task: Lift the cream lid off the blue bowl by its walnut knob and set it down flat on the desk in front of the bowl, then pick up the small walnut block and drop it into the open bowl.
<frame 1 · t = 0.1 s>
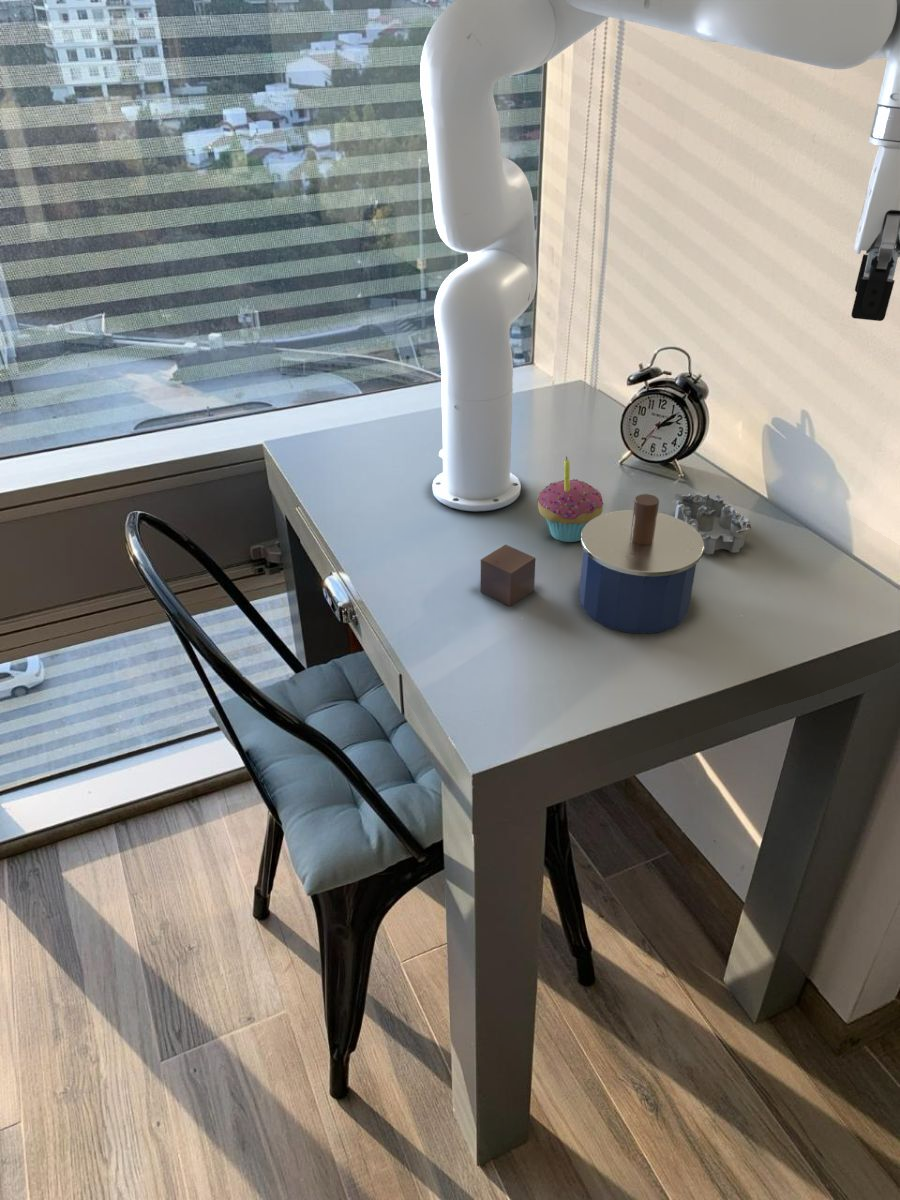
hand: (868, 305, 96), 31 cm above the table, tool pointing down, fingers open, 9 cm apart
cupcake: (567, 534, 118), on the table
block: (507, 590, 107), on the table
lid: (641, 543, 101), point 8 cm above the table, touching blue bowl
blue bowl: (633, 601, 105), on the table
egg carton: (706, 535, 118), on the table
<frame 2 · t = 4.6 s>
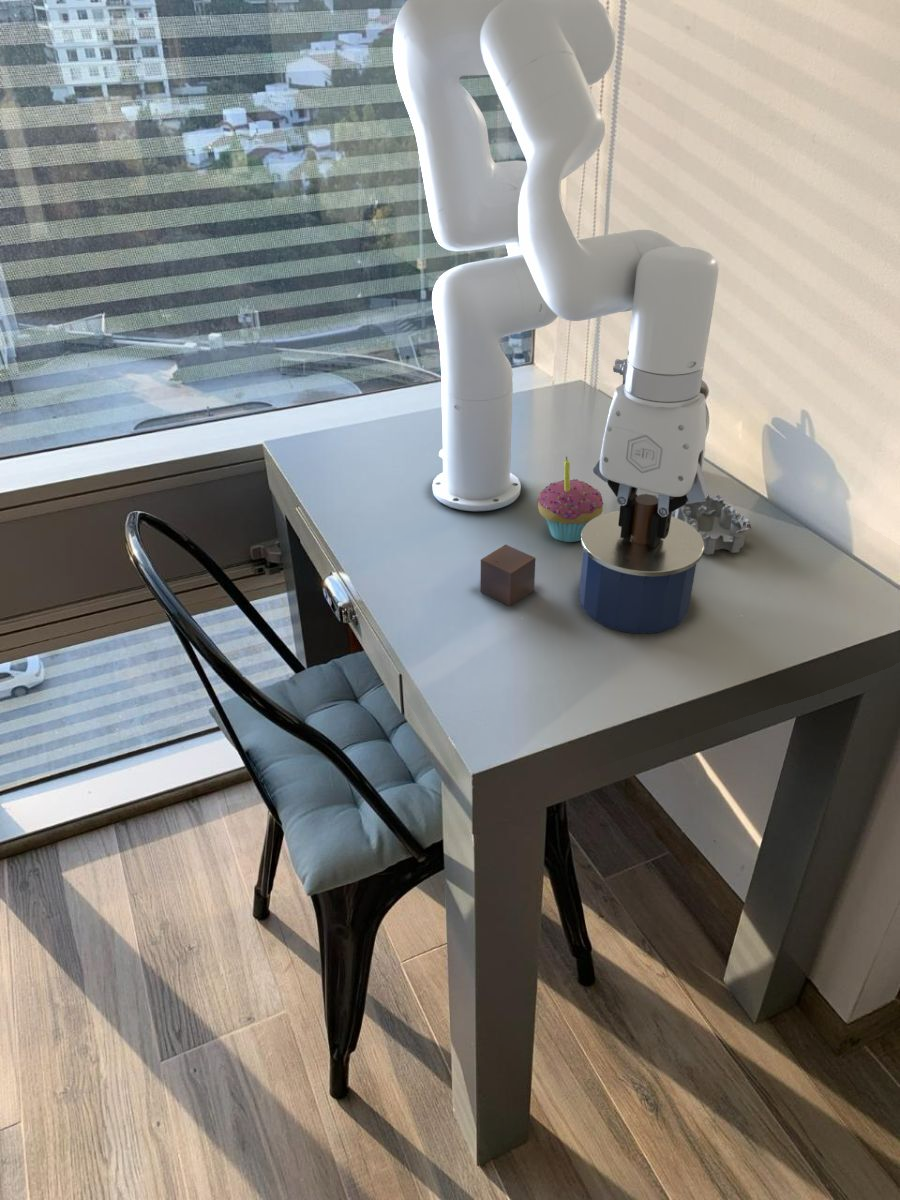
hand: (642, 536, 100), 9 cm above the table, tool pointing down, fingers closed on lid, 2 cm apart
lid: (641, 543, 101), point 8 cm above the table, touching gripper, blue bowl
everything else where it was.
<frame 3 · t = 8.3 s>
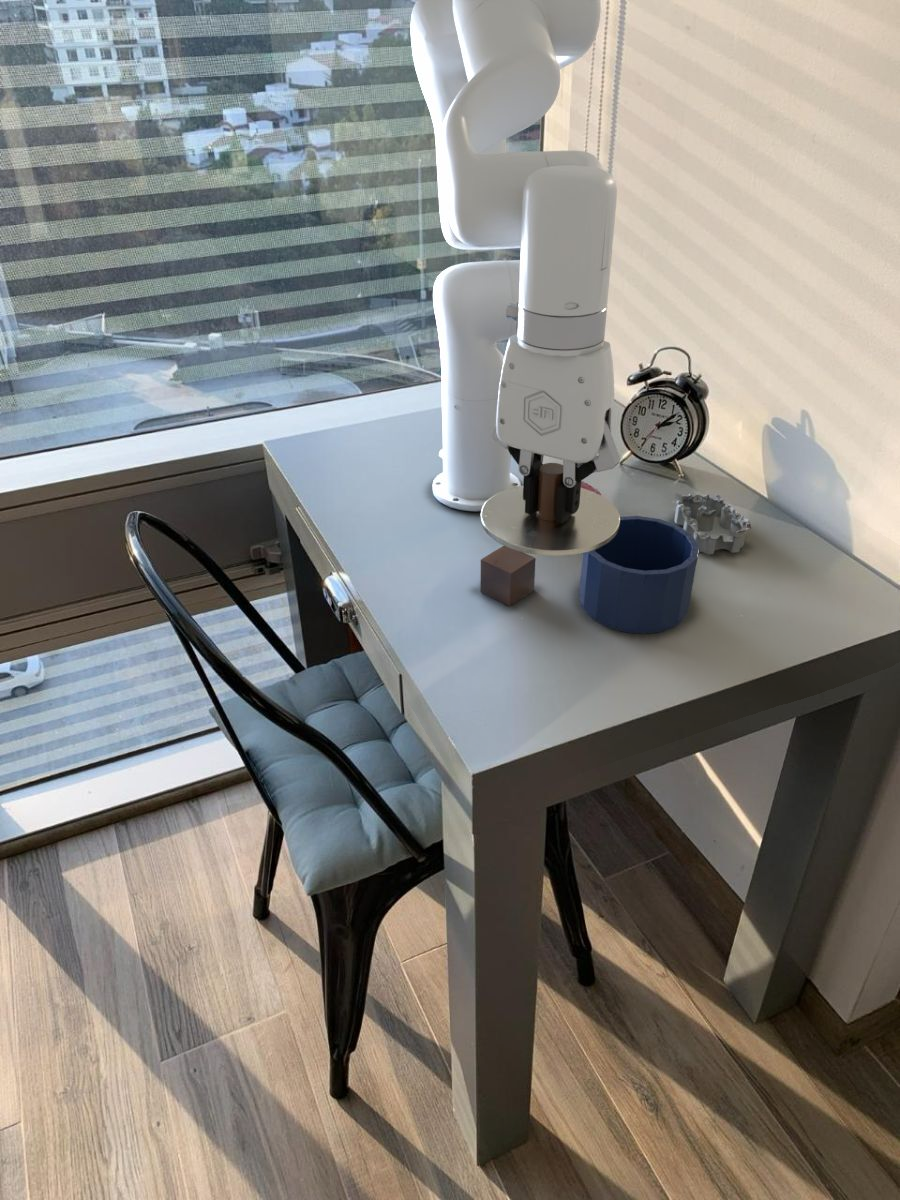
hand: (550, 511, 87), 18 cm above the table, tool pointing down, fingers closed on lid, 2 cm apart
lid: (549, 520, 88), point 17 cm above the table, touching gripper
everything else where it was.
when the fingers open (2 cm above the table, at t = 11.9 s): lid stays where it is, point 1 cm above the table.
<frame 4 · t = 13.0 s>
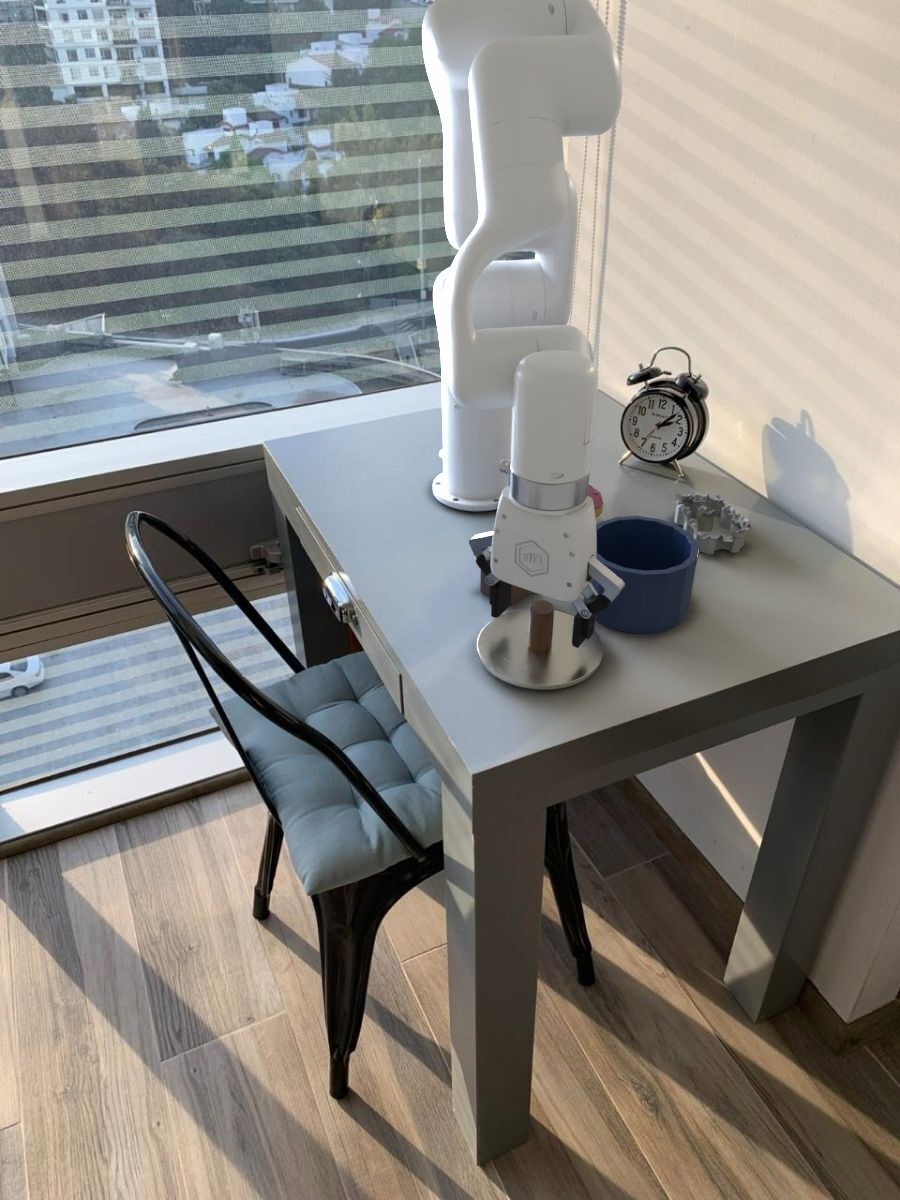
hand: (540, 625, 96), 3 cm above the table, tool pointing down, fingers open, 9 cm apart
lid: (539, 649, 97), point 1 cm above the table
everything else where it was.
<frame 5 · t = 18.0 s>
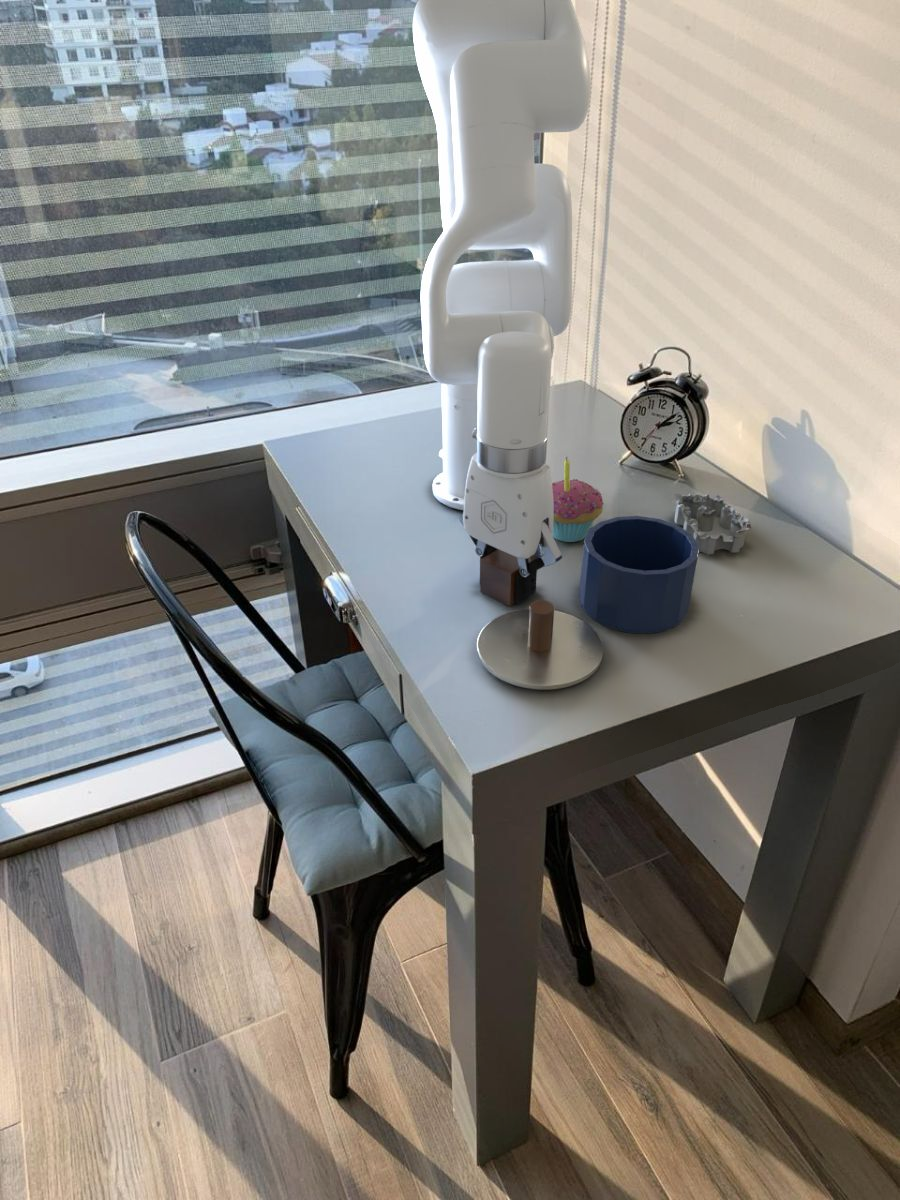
hand: (507, 588, 107), 0 cm above the table, tool pointing down, fingers closed on block, 4 cm apart
block: (507, 591, 107), on the table, touching gripper
everything else where it was.
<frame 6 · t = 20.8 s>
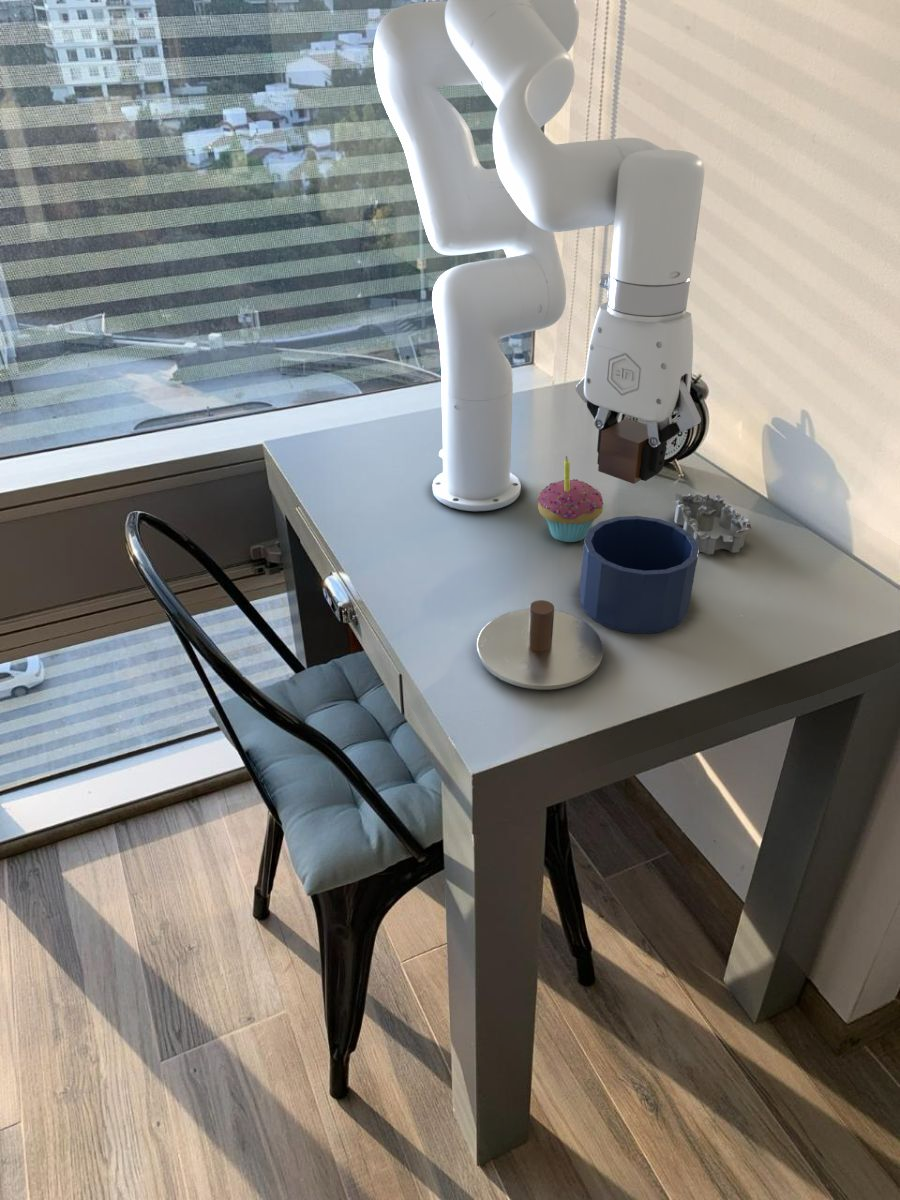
hand: (628, 466, 95), 17 cm above the table, tool pointing down, fingers closed on block, 4 cm apart
block: (628, 470, 96), point 17 cm above the table, touching gripper
everything else where it was.
when the fingers open (6 cm above the table, at t = 23.8 s): block drops 5 cm, resting on blue bowl.
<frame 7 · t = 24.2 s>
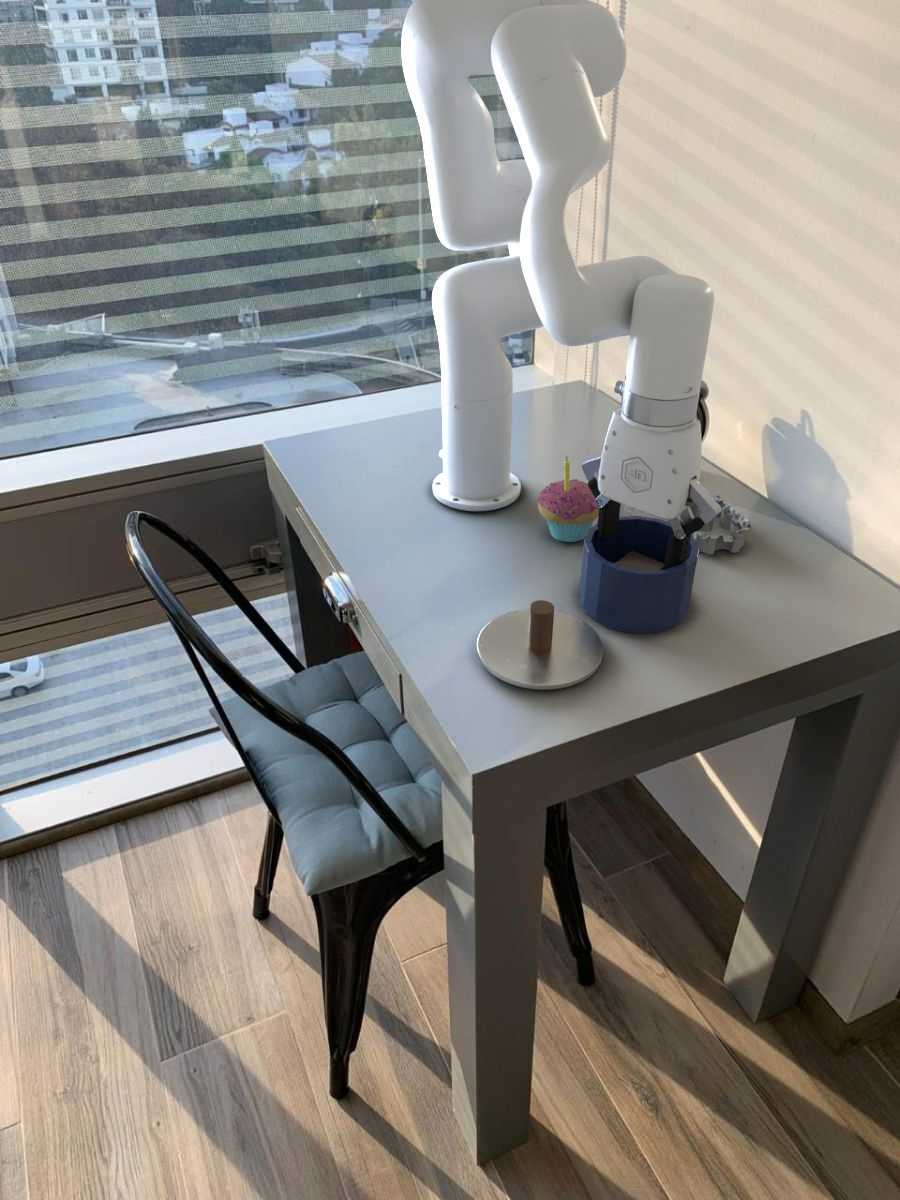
hand: (640, 548, 101), 7 cm above the table, tool pointing down, fingers open, 8 cm apart
block: (633, 598, 105), point 1 cm above the table, touching blue bowl
everything else where it was.
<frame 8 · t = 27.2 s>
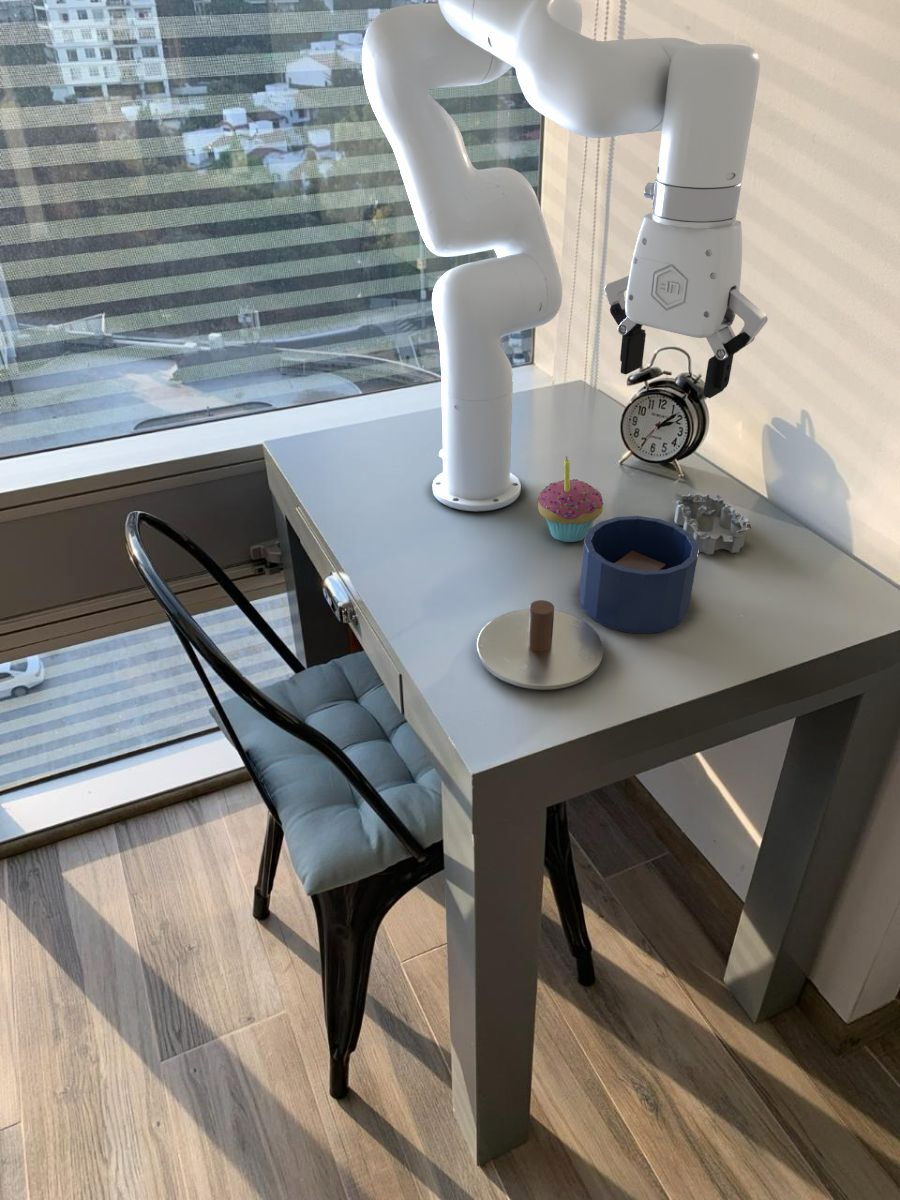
hand: (671, 381, 92), 26 cm above the table, tool pointing down, fingers open, 9 cm apart
nothing on the table moved.
at the end: lid inside the target area (0.1 cm from its centre), point 0.6 cm above the table; lid tilted 0°; block inside the target area in the blue bowl (0.0 cm from its centre), point 0.5 cm above the blue bowl's base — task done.
